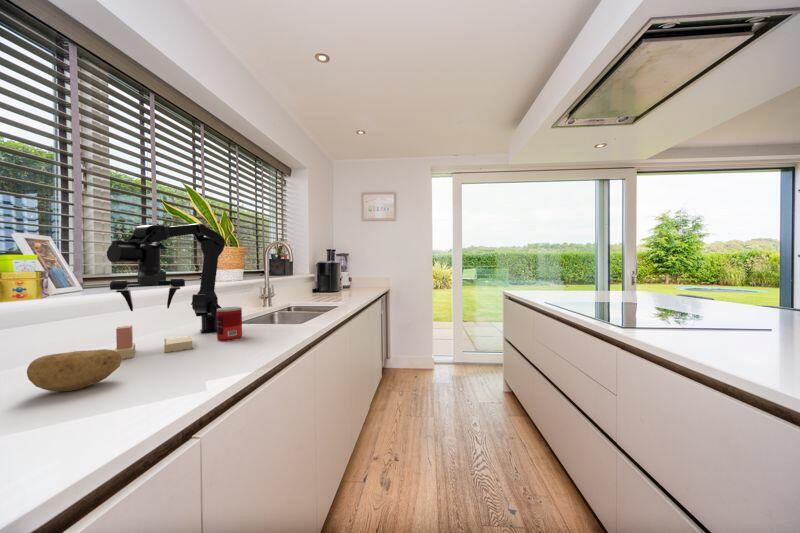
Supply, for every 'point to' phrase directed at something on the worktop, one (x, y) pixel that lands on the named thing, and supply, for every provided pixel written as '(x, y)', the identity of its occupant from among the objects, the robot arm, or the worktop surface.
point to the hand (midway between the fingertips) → (150, 309)
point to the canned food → (229, 323)
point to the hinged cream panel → (178, 343)
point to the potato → (73, 369)
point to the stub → (125, 341)
